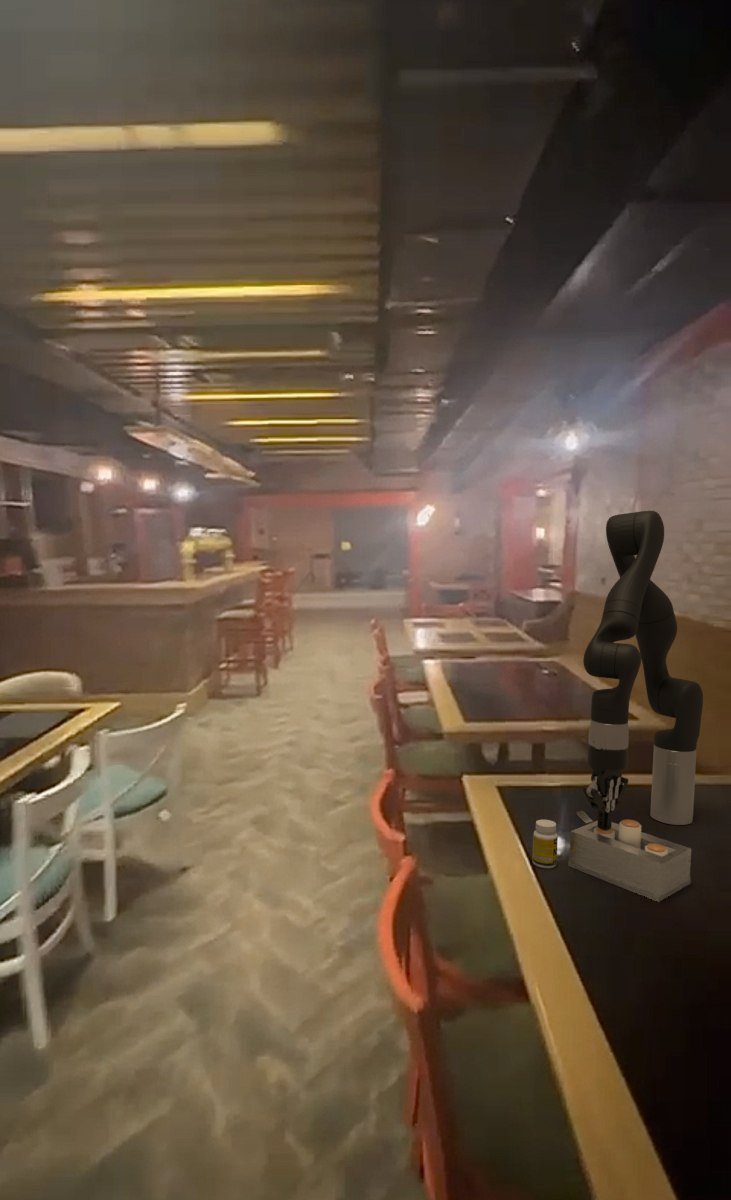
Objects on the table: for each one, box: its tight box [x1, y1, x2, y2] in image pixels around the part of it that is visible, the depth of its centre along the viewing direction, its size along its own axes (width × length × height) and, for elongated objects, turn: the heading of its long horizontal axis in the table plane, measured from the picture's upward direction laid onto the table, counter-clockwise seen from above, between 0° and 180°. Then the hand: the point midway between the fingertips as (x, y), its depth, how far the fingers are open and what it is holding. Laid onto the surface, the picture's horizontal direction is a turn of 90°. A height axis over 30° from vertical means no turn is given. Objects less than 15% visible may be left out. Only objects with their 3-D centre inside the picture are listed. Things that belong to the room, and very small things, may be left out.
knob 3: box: [645, 843, 668, 857], centre depth 139 cm, size 4×4×6 cm
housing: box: [567, 820, 692, 903], centre depth 143 cm, size 12×19×7 cm, turn 40°
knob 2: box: [618, 819, 642, 849], centre depth 143 cm, size 4×4×6 cm
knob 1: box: [594, 826, 615, 840], centre depth 148 cm, size 4×4×6 cm
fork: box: [576, 810, 594, 824], centre depth 167 cm, size 3×16×2 cm, turn 39°
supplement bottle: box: [531, 819, 559, 869], centre depth 148 cm, size 5×5×8 cm
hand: (604, 828), depth 147 cm, fingers closed
